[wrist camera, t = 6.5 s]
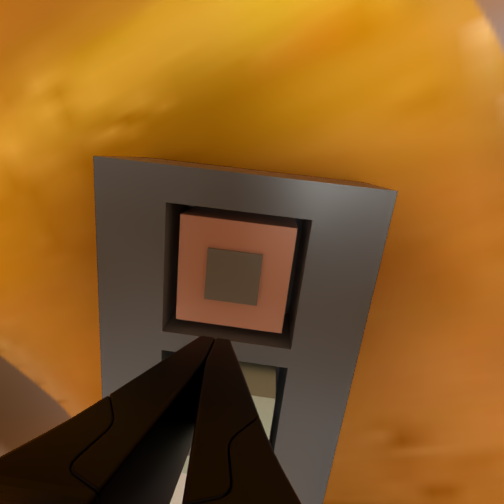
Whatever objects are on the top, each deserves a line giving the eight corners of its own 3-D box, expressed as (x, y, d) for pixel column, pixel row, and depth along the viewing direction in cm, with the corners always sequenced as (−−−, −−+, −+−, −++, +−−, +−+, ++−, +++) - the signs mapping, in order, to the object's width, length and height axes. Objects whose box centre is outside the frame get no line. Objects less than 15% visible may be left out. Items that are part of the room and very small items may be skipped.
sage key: (264, 432, 18) (261, 488, 14) (177, 419, 18) (156, 472, 15) (276, 356, 16) (275, 401, 13) (180, 342, 16) (158, 384, 13)
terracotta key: (280, 304, 17) (281, 335, 14) (192, 293, 18) (174, 320, 15) (294, 216, 16) (297, 229, 13) (197, 204, 16) (179, 214, 13)
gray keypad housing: (298, 495, 23) (303, 581, 19) (142, 469, 24) (107, 547, 19) (363, 182, 17) (397, 191, 12) (144, 157, 17) (93, 155, 12)
